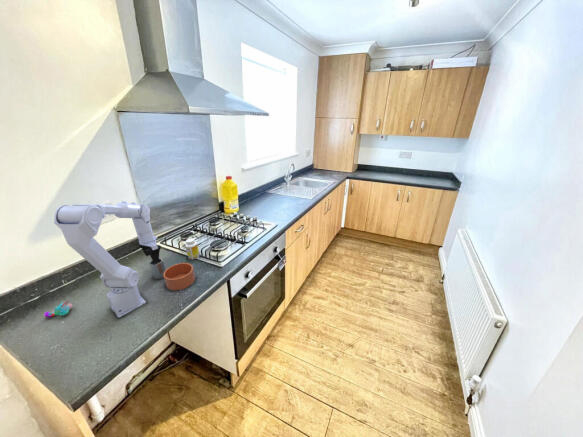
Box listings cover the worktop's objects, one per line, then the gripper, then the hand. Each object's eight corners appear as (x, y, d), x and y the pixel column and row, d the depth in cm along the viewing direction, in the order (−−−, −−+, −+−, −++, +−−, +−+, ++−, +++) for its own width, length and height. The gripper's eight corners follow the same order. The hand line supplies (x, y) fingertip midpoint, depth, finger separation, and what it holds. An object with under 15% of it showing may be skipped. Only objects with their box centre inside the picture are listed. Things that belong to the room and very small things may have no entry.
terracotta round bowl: (174, 295, 95) (171, 283, 93) (161, 283, 102) (158, 272, 100) (200, 280, 104) (198, 269, 101) (186, 270, 110) (184, 259, 108)
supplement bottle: (200, 253, 123) (197, 237, 119) (198, 259, 118) (194, 242, 114) (190, 254, 123) (186, 237, 119) (186, 260, 118) (182, 243, 114)
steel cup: (157, 281, 103) (152, 266, 100) (152, 276, 106) (147, 262, 103) (168, 275, 107) (164, 261, 104) (163, 271, 110) (159, 257, 107)
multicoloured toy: (54, 296, 88) (37, 308, 82) (76, 295, 89) (61, 307, 82) (58, 308, 90) (41, 320, 83) (80, 307, 90) (65, 319, 84)
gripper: (161, 232, 97) (169, 259, 102) (147, 223, 105) (154, 248, 111) (143, 239, 92) (152, 267, 97) (129, 228, 100) (138, 255, 106)
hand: (152, 257), depth 104 cm, fingers open, 7 cm apart
